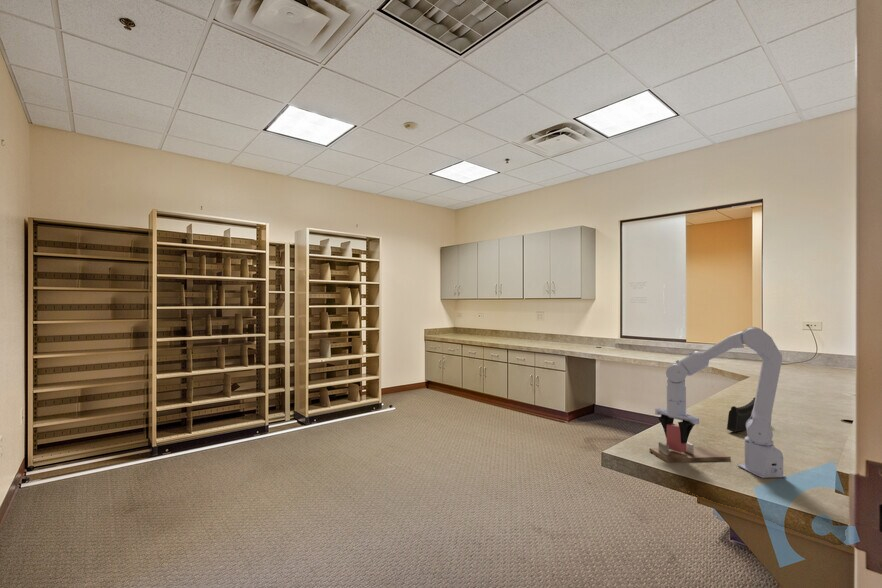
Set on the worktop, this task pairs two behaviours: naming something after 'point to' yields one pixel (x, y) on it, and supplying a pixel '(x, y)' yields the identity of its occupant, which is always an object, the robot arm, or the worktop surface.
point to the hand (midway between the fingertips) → (676, 440)
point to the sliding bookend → (689, 448)
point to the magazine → (739, 417)
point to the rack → (698, 455)
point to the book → (675, 438)
